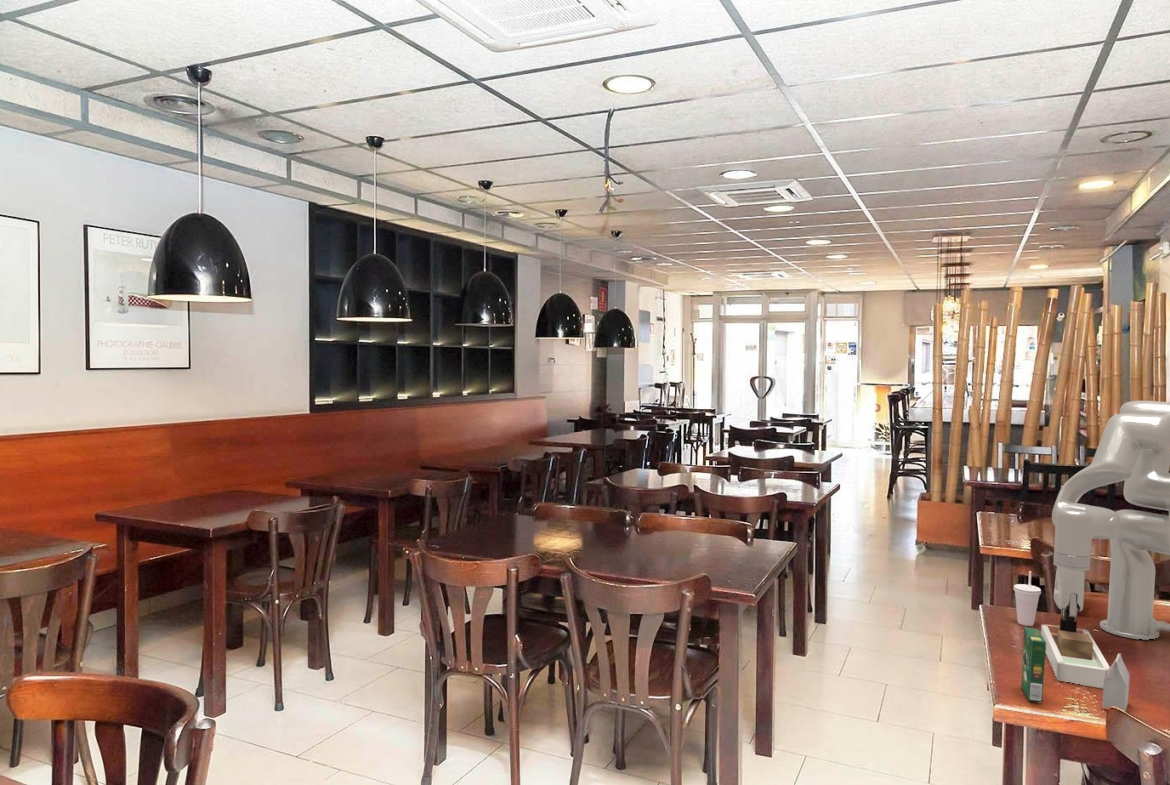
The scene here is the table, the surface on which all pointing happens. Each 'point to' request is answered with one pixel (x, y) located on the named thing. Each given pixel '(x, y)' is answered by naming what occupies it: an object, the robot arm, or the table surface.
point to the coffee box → (1033, 664)
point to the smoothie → (1026, 602)
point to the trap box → (1074, 661)
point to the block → (1075, 645)
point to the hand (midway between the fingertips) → (1067, 635)
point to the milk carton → (1116, 685)
